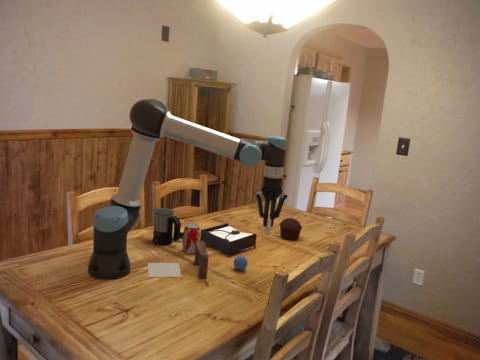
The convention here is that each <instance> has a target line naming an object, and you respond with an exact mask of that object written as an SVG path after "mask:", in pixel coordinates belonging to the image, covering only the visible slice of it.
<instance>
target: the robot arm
mask: <svg viewBox="0 0 480 360" xmlns="http://www.w3.org/2000/svg"><path fill="white" fill-rule="evenodd" d="M128 116H129V120H130V123H131V127H130V131H131V133H132V135H133V136H132V140H131V143H130V147H129V150H128V155H127V157H126V161H125V165H124V167H123V171H122V174H121V175H122V176H121V178H120V182H119V185H118V188H117V192H116V193H114V194H112V195H111V198H110V202H109V205H107V206H104V207H100V208H98V209H97V210H96V211H95V213H94V215H93V221H92V222H93V223H92V224H93V241H92V242H93V243H92V244H93V246H92V247H93V250H92V254H91V256H90V259H89V262H88V264H87V274H88V275H89V276H90V277H91V278H94V279H98V280H105V281H106V280H117V279H120V278H123V277H125V276H127V275H128V274H129V273H131V266H132V265H131V261H130V258H129V255H128V252H127V246H128V245H127V244H128V234H129V233H130V232H131V230H132V229H133V228H134V227H135V226H136V225H137V224H138V222H139V219H140V215H141V212H140V210H141V207H142V201H141V200H140V196H141V194H142V193H141V192H142V190H143V186H144V183H145V181H146V180H145V179H146V177H147V173H148V169H149V166H150V163H151V160H152V156H153V153H154V150H155V146H156V142H159V141H160V140H161V139H162V138H163V137H166V138H170V139H173V140H175V141H179V142H182V143H185V144H187V145H191V146H194V147H197V148H200V149H202V150H204V151H208V152H211V153H214V154H217V155H219V156H222V157H226V158H229V159H231V160H234V161H236V162H239V163H241V164H243V165H244V166H245V167H249V168H251V167H256V166H257V165H258V164H259V163H261V161H264V169H263V175H264V176H263V177H262V187H261V189H260V191H258V192H255V193H254V195H255V198H256V200H257V201H256V202H257V207H258V215H259V217H260V218H263V222H262V226H263V227H264V231H263V232H264V235H265V236H270V235H271V228H272V227H273V226H274V222H275V219H279V217H280V215H281V211H282V210H283V209H282V208H283V207H284V203H285V201H286V199H287V198H288V195H287V194H286V193H284V192H283V177H284V170H285V160H286V153H287V138H286V137H284V136H277V135H269V136H267V138H266V140H257V139H247V138H238V137H235V136H231V135H229V134H227V133H223V132H220V131H217V130H215V129H212V128H210V127H206V126H203V125H202V124H198V123H195V122H192V121H190V120H187V119H183V118H181V117H179V116H175V115H173V114H172V113H171V111H169V108H168V107H167V105H166V104H165V103H163V102H162V101H160V100H158V99H154V98H149V99H140V100H138V101H136V102H135V103H134V104H133V105H132V106H131V107H130V111H129V115H128ZM262 197H263V198H264V207H263V201H262ZM278 198H279V199H278ZM277 201H278V202H277Z"/></svg>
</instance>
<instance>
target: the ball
mask: <svg viewBox="0 0 480 360" xmlns="http://www.w3.org/2000/svg"><path fill="white" fill-rule="evenodd" d="M233 266H234V268H235V269H236V270H238V271H243V270H245V269H246V268H247V266H248V260H247V258H246V257H245V256H243V255H239V256H236V257H235V258H234V260H233Z"/></svg>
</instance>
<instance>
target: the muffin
mask: <svg viewBox="0 0 480 360" xmlns="http://www.w3.org/2000/svg"><path fill="white" fill-rule="evenodd" d="M302 228H303V226H302V225H301V222H300V221H299V220H297V219H296V218H293V217H287V218H284V219H283V220H281V221H280V222H279V230H280V231H279V232H280V234H279V235H280V239H282V240H283V241H287V240H288V242H297V241H298V240H299V238H300V234H301V231H302Z"/></svg>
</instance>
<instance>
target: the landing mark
mask: <svg viewBox="0 0 480 360" xmlns="http://www.w3.org/2000/svg"><path fill="white" fill-rule="evenodd" d="M148 278H182V274H181V269H180V264H179V262H153V263H152V262H148V263H147V279H148Z"/></svg>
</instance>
